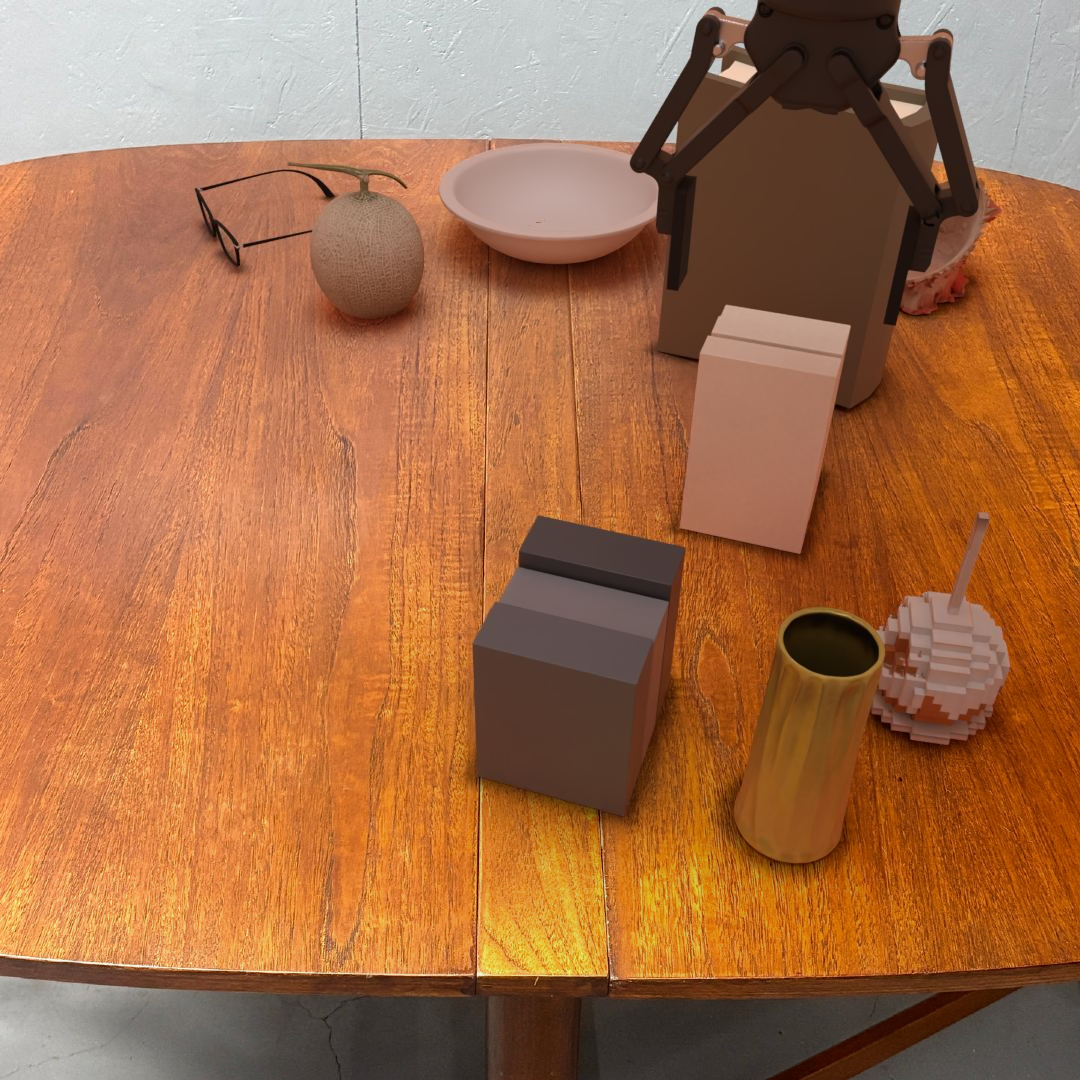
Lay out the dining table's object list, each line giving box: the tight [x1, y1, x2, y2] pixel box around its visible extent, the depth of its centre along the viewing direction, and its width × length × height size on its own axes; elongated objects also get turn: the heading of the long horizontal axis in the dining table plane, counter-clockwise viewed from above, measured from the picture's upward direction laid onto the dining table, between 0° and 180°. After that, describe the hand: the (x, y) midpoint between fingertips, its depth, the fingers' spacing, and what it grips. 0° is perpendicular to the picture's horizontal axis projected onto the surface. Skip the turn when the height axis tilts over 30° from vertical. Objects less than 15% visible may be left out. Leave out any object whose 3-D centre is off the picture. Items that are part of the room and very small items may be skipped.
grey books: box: [471, 514, 687, 817], centre depth 67 cm, size 11×9×12 cm
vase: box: [733, 606, 885, 864], centre depth 61 cm, size 6×6×14 cm
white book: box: [679, 336, 842, 555], centre depth 81 cm, size 2×9×15 cm, turn 72°
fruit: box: [287, 161, 425, 320], centre depth 106 cm, size 10×12×15 cm
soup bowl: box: [438, 142, 658, 265], centre depth 120 cm, size 24×24×7 cm
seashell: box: [900, 179, 1003, 316], centre depth 114 cm, size 17×11×15 cm
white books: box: [711, 305, 851, 522], centre depth 85 cm, size 6×9×14 cm
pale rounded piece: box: [871, 511, 1011, 746], centre depth 68 cm, size 8×8×15 cm
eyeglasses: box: [194, 168, 336, 268], centre depth 122 cm, size 16×16×4 cm
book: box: [657, 44, 938, 410], centre depth 96 cm, size 19×8×25 cm, turn 57°
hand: (781, 298), depth 73 cm, fingers open, 13 cm apart
